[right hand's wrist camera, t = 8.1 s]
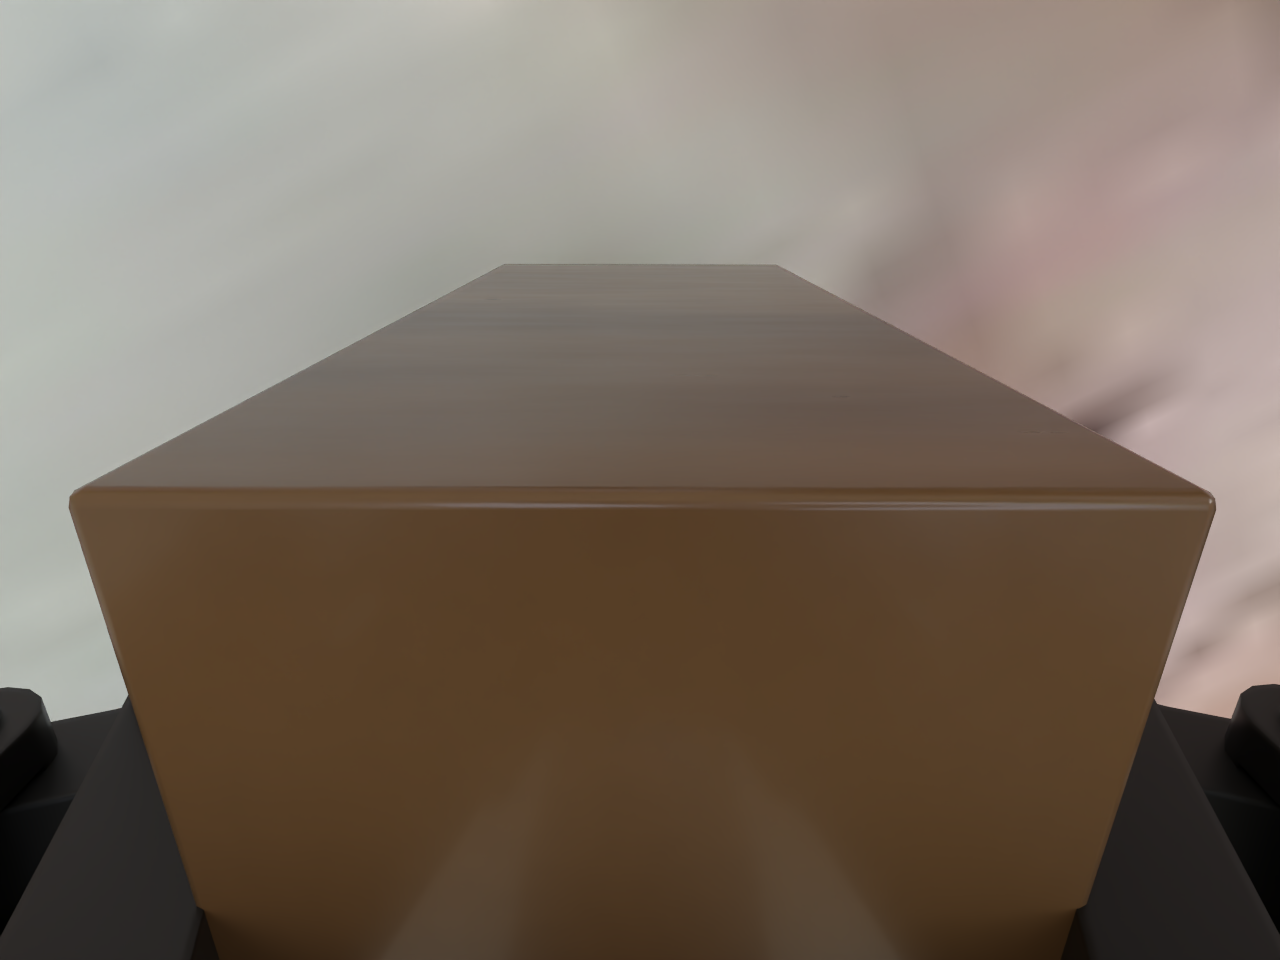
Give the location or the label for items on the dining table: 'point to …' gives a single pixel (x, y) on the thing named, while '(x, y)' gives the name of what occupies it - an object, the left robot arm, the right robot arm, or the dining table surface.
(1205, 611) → the dining table surface
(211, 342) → the dining table surface
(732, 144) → the dining table surface
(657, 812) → the box
